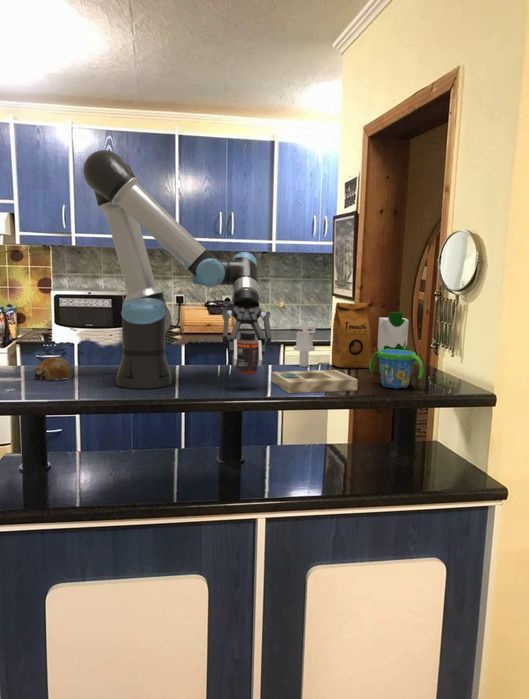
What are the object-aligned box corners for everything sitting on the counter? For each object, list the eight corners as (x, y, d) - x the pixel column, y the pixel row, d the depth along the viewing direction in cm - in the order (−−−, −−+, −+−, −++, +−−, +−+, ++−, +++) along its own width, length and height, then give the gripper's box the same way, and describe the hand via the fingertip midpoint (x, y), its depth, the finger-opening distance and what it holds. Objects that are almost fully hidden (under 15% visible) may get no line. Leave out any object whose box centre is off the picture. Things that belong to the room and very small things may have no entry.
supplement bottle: (258, 372, 159) (260, 331, 157) (255, 376, 153) (258, 334, 151) (236, 370, 159) (238, 330, 157) (233, 374, 153) (235, 332, 152)
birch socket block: (288, 393, 152) (288, 381, 152) (271, 382, 166) (272, 370, 166) (357, 390, 158) (357, 378, 157) (335, 379, 172) (335, 368, 172)
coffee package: (372, 369, 190) (375, 303, 187) (336, 369, 189) (338, 303, 186) (363, 364, 200) (366, 301, 197) (328, 364, 199) (331, 301, 195)
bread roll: (68, 393, 163) (80, 367, 164) (33, 380, 158) (45, 353, 159) (64, 386, 172) (75, 361, 172) (30, 373, 167) (42, 348, 168)
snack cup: (428, 388, 163) (430, 353, 161) (410, 393, 155) (412, 356, 153) (380, 380, 173) (382, 346, 171) (361, 385, 165) (363, 350, 164)
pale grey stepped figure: (314, 367, 191) (316, 323, 189) (293, 367, 192) (295, 322, 189) (313, 364, 198) (314, 321, 196) (293, 363, 198) (294, 320, 196)
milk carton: (380, 377, 178) (383, 312, 175) (373, 371, 187) (376, 310, 184) (408, 377, 178) (411, 313, 175) (400, 372, 187) (403, 311, 184)
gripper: (276, 307, 170) (280, 371, 156) (212, 304, 167) (211, 369, 154) (279, 289, 164) (285, 355, 150) (213, 286, 161) (212, 352, 148)
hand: (247, 362), depth 152 cm, fingers closed on supplement bottle, 6 cm apart
